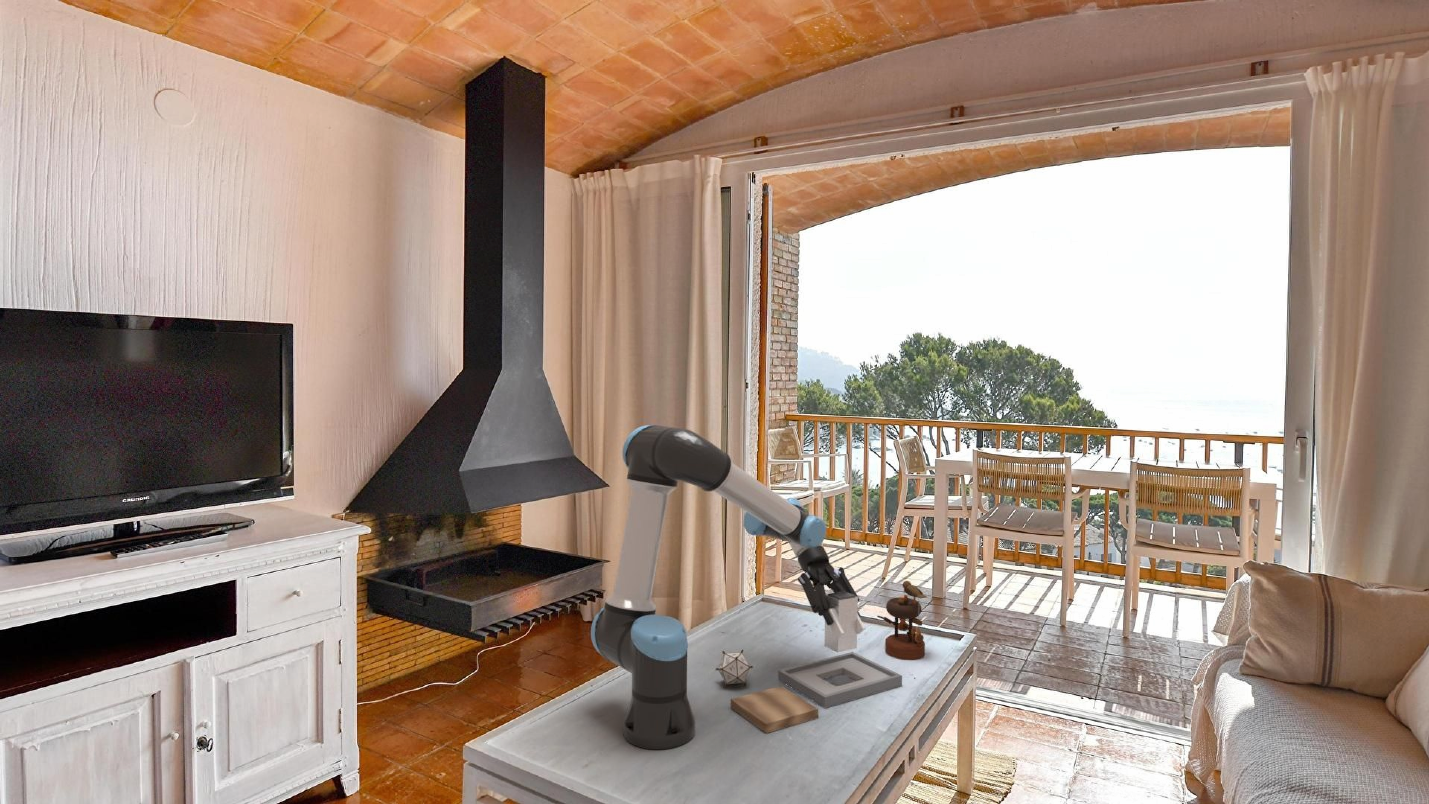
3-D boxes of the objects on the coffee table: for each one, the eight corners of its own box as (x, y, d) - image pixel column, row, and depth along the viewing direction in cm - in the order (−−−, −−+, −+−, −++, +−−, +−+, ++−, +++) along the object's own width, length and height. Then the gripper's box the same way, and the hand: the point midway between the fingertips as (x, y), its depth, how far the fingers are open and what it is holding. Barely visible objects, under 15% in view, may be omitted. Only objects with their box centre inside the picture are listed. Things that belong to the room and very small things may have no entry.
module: (837, 652, 181) (838, 598, 181) (824, 645, 185) (825, 593, 185) (856, 648, 184) (857, 595, 184) (843, 641, 189) (844, 590, 188)
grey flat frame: (825, 708, 171) (825, 697, 171) (778, 680, 187) (778, 670, 186) (901, 685, 184) (902, 675, 183) (852, 661, 199) (852, 651, 199)
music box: (938, 654, 204) (936, 582, 202) (916, 668, 197) (914, 594, 195) (890, 639, 215) (888, 571, 213) (867, 652, 208) (865, 581, 206)
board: (766, 733, 159) (766, 724, 159) (730, 707, 171) (730, 699, 171) (818, 717, 166) (818, 708, 166) (780, 694, 178) (780, 686, 178)
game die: (738, 702, 183) (744, 679, 176) (708, 685, 185) (712, 662, 179) (754, 673, 189) (760, 650, 183) (724, 657, 192) (729, 634, 185)
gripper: (831, 556, 202) (872, 634, 189) (773, 564, 192) (812, 647, 179) (845, 540, 198) (888, 619, 184) (786, 548, 188) (827, 632, 174)
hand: (850, 633), depth 182 cm, fingers closed on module, 6 cm apart
